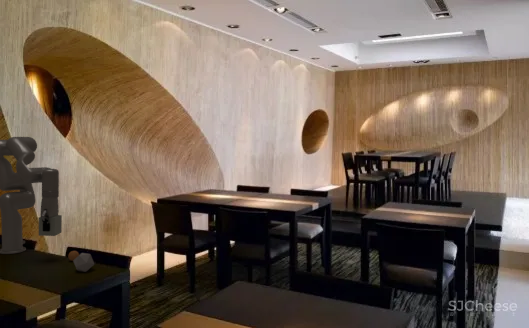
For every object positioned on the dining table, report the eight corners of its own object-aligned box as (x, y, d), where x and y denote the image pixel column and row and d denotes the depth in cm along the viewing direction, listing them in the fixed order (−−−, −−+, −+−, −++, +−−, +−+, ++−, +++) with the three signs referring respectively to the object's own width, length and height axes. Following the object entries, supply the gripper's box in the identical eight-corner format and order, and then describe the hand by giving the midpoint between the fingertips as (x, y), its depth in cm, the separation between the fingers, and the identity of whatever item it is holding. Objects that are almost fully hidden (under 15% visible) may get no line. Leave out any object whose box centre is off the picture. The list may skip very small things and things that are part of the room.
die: (98, 270, 205) (94, 252, 209) (90, 266, 197) (86, 247, 201) (81, 277, 204) (77, 258, 208) (72, 273, 196) (69, 253, 200)
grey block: (45, 232, 221) (46, 214, 221) (61, 232, 221) (61, 215, 221) (38, 235, 213) (38, 217, 213) (54, 236, 214) (54, 218, 213)
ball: (82, 254, 221) (75, 261, 221) (75, 247, 220) (68, 254, 221) (79, 257, 216) (71, 264, 216) (71, 250, 215) (64, 256, 216)
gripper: (50, 191, 225) (50, 225, 226) (33, 196, 207) (33, 233, 208) (65, 191, 225) (65, 225, 226) (50, 196, 208) (50, 233, 209)
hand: (50, 229), depth 217 cm, fingers closed on grey block, 7 cm apart
